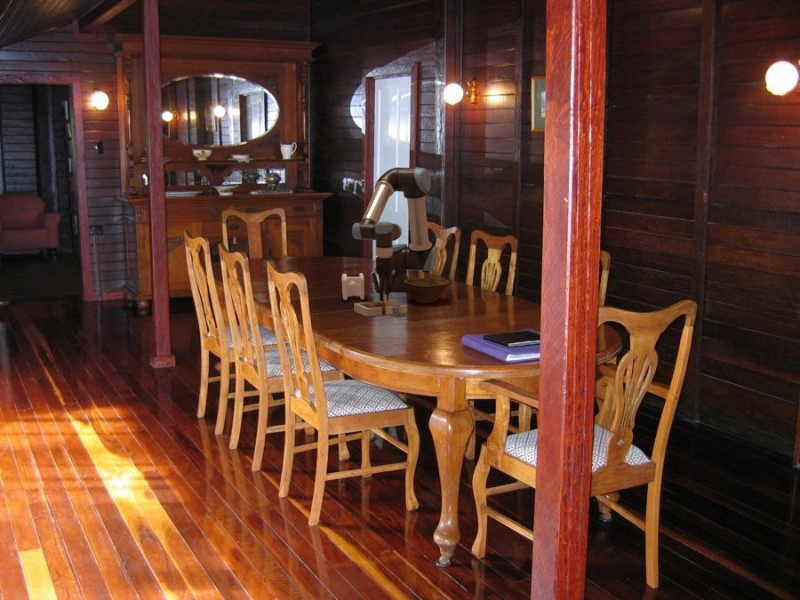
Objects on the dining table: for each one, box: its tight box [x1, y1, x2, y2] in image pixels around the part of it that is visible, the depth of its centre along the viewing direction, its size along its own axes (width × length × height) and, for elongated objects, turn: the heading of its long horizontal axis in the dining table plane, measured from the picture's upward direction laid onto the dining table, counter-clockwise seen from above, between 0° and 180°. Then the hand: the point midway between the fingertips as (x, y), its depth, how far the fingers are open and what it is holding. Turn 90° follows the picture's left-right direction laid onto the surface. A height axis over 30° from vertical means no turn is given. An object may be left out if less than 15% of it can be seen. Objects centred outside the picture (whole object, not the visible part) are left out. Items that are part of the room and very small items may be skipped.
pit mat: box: [390, 313, 411, 318], centre depth 410 cm, size 7×6×1 cm
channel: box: [376, 299, 408, 316], centre depth 419 cm, size 10×14×4 cm
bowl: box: [404, 277, 450, 304], centre depth 441 cm, size 22×23×10 cm
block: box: [366, 301, 386, 315], centre depth 415 cm, size 7×6×4 cm
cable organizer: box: [341, 272, 365, 301], centre depth 448 cm, size 15×11×12 cm
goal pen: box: [353, 301, 383, 318], centre depth 414 cm, size 8×14×4 cm, turn 26°
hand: (384, 308), depth 417 cm, fingers closed
